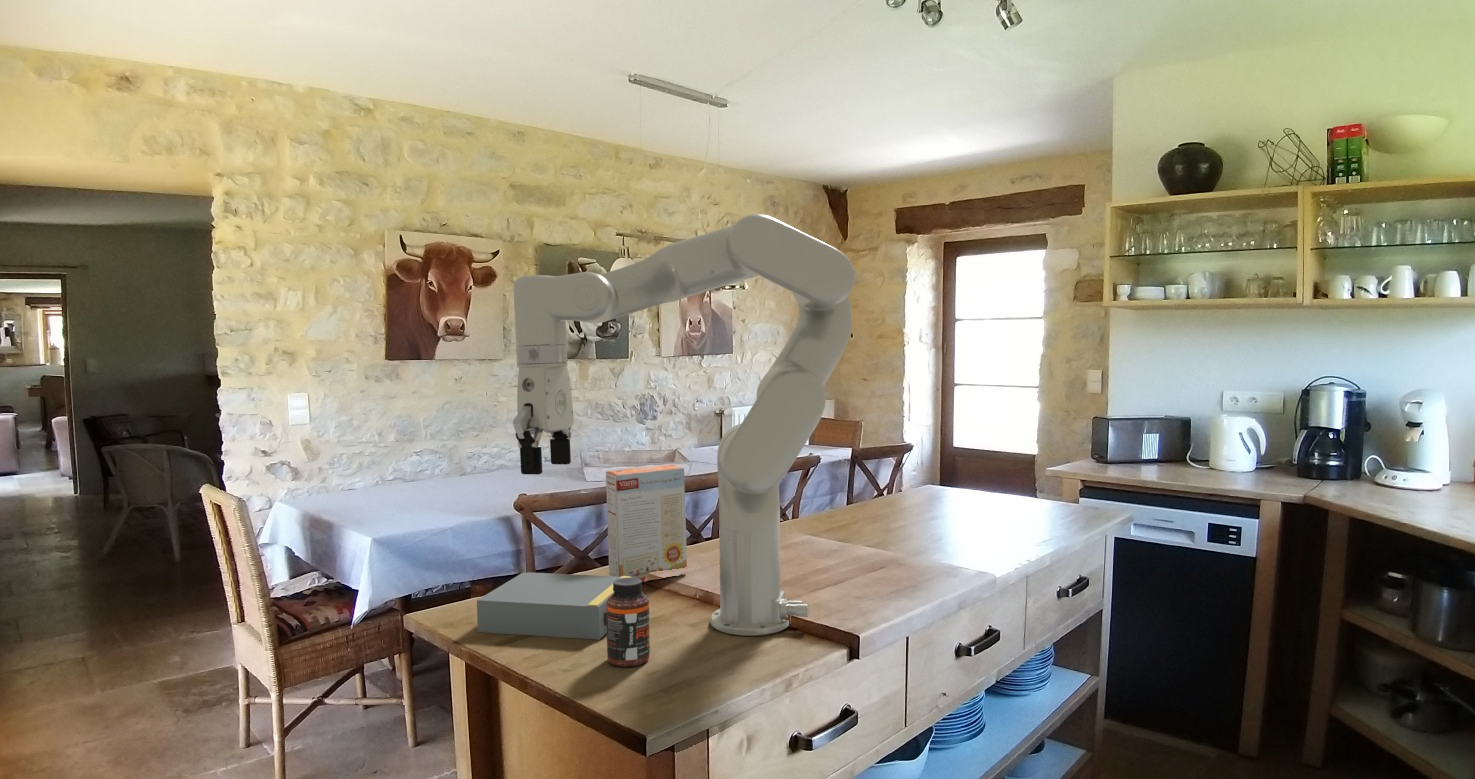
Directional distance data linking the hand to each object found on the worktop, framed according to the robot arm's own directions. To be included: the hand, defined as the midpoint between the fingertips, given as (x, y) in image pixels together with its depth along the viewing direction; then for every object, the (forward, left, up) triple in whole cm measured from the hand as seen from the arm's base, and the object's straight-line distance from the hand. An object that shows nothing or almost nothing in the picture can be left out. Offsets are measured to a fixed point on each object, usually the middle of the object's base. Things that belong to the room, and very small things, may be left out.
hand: (546, 468), depth 128 cm
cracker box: (-6, -31, -26) cm, 40 cm away
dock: (+1, -6, -25) cm, 26 cm away
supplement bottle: (-16, +9, -26) cm, 31 cm away
